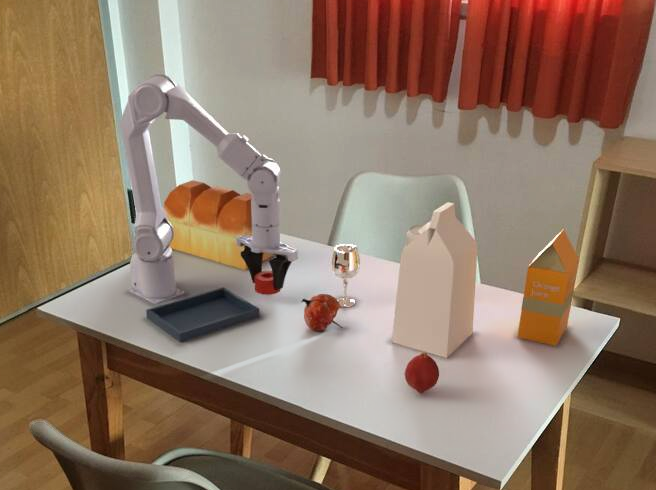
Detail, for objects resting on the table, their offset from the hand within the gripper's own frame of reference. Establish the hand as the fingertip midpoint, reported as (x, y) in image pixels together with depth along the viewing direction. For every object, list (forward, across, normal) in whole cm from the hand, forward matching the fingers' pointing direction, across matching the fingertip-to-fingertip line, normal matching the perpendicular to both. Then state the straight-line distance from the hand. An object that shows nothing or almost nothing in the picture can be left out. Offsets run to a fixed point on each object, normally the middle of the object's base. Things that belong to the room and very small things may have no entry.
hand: (267, 285), depth 173 cm
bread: (+3, -27, +15) cm, 31 cm away
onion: (+4, +45, -14) cm, 47 cm away
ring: (+1, 0, 0) cm, 1 cm away
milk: (+4, +37, +5) cm, 37 cm away
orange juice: (+4, +53, +20) cm, 57 cm away
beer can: (+4, +25, +20) cm, 32 cm away
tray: (+3, -5, -15) cm, 16 cm away
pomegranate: (+4, +17, -4) cm, 18 cm away
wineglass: (+4, +14, +9) cm, 17 cm away
